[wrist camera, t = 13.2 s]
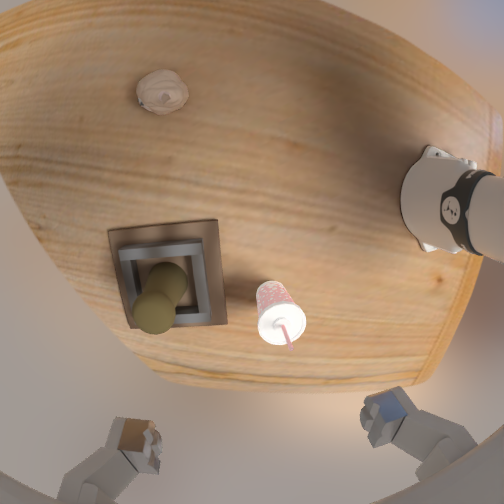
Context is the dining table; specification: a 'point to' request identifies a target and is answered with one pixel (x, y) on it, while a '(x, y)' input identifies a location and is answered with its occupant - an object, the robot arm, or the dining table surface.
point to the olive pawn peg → (160, 298)
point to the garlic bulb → (162, 92)
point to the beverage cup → (278, 315)
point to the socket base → (181, 253)
